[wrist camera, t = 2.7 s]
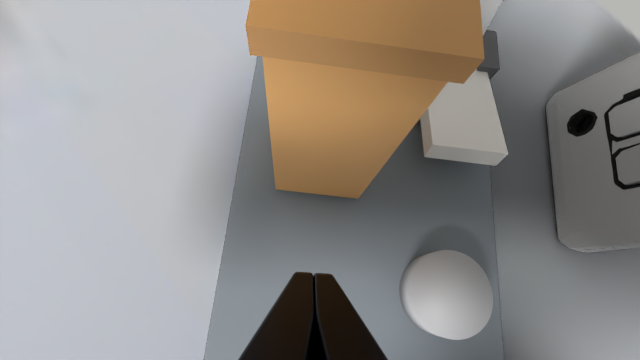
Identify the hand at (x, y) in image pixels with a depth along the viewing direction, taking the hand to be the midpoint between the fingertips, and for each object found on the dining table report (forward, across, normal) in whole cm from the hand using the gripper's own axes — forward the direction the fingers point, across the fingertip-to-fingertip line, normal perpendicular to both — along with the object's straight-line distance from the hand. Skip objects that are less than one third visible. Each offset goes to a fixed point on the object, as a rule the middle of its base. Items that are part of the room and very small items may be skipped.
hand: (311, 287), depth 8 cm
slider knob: (+10, 0, +1) cm, 10 cm away
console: (+10, -3, +2) cm, 11 cm away
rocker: (+11, -7, -2) cm, 13 cm away
